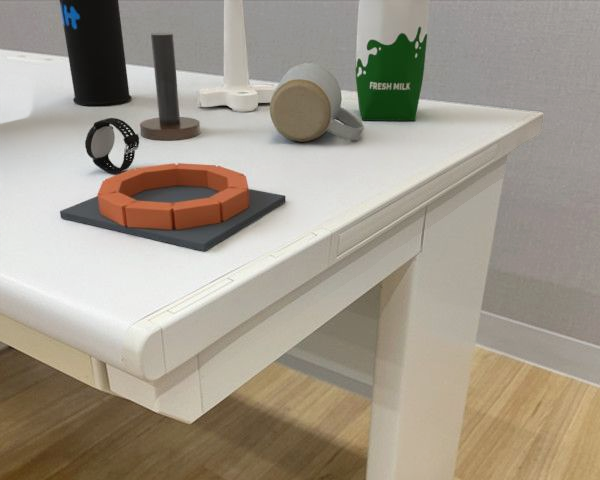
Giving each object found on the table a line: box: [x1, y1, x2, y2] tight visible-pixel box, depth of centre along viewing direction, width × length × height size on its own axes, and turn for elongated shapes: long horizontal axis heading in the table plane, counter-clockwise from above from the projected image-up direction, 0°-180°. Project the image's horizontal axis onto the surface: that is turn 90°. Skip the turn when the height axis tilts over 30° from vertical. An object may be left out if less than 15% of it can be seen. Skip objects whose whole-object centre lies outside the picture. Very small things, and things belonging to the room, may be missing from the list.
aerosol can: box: [59, 0, 132, 107], centre depth 88 cm, size 8×8×20 cm
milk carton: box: [355, 0, 431, 122], centre depth 81 cm, size 9×9×20 cm
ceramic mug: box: [269, 62, 365, 143], centre depth 73 cm, size 11×8×8 cm
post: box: [139, 32, 201, 141], centre depth 73 cm, size 7×7×11 cm
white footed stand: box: [196, 0, 277, 113], centre depth 85 cm, size 11×8×20 cm
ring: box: [97, 162, 250, 230], centre depth 52 cm, size 12×12×2 cm
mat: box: [59, 186, 287, 252], centre depth 52 cm, size 14×12×1 cm
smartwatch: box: [84, 117, 140, 175], centre depth 61 cm, size 4×5×5 cm
